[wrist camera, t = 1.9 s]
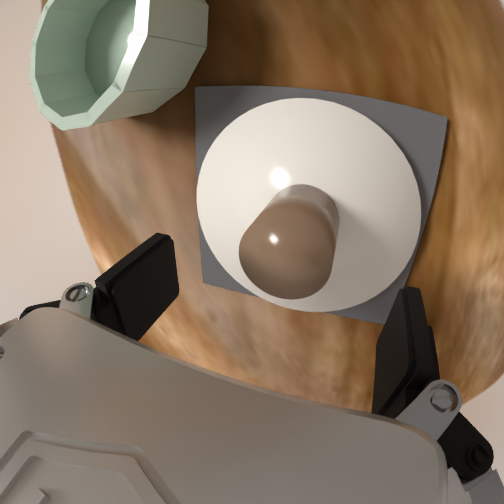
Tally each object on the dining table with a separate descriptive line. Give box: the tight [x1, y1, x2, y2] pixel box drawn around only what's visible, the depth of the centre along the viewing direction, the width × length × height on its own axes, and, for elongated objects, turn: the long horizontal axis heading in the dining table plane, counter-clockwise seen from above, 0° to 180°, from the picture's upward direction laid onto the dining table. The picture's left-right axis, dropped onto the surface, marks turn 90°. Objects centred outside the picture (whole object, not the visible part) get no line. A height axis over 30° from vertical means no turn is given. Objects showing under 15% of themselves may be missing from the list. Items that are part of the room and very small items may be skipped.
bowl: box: [30, 0, 209, 130], centre depth 12 cm, size 11×11×6 cm
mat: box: [195, 86, 448, 325], centre depth 16 cm, size 14×14×1 cm
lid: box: [197, 98, 421, 312], centre depth 14 cm, size 13×13×5 cm
